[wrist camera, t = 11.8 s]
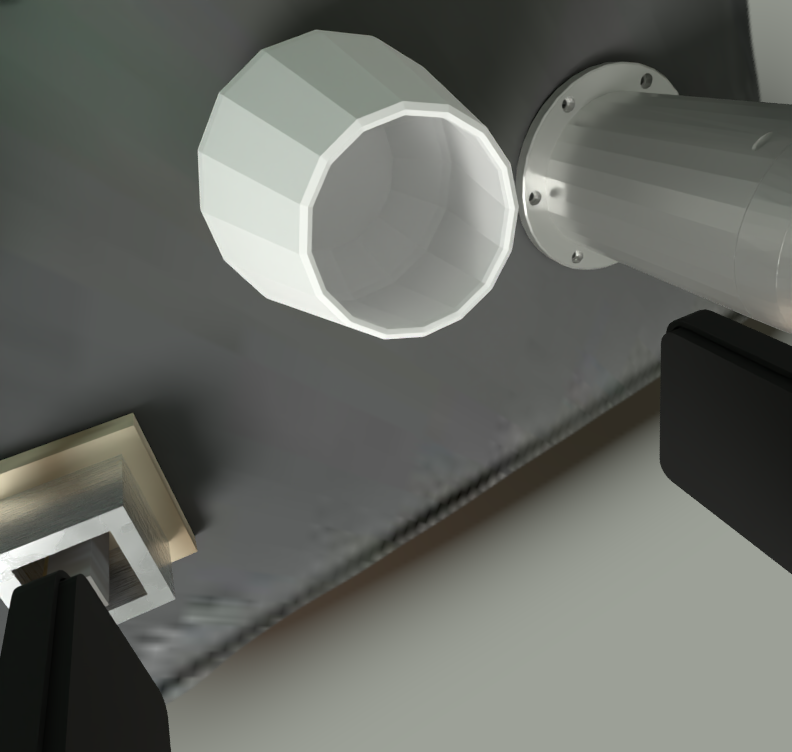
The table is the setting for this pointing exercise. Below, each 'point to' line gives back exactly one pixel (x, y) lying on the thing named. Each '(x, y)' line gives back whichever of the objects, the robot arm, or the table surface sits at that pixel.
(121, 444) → the post block
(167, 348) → the table surface
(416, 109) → the cup
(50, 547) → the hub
